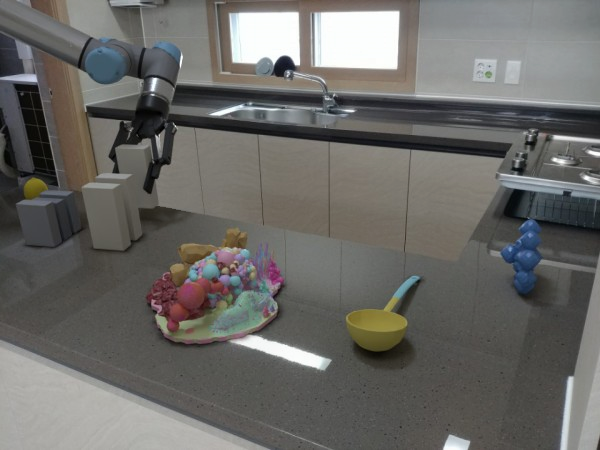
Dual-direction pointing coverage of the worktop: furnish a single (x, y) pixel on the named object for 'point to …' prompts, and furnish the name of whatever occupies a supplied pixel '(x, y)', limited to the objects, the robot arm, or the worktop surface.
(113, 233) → the cream book row
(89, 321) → the worktop surface
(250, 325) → the candy landscape model
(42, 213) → the grey books
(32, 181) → the lemon
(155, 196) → the cream tall block
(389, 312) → the ladle
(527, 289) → the grapes
